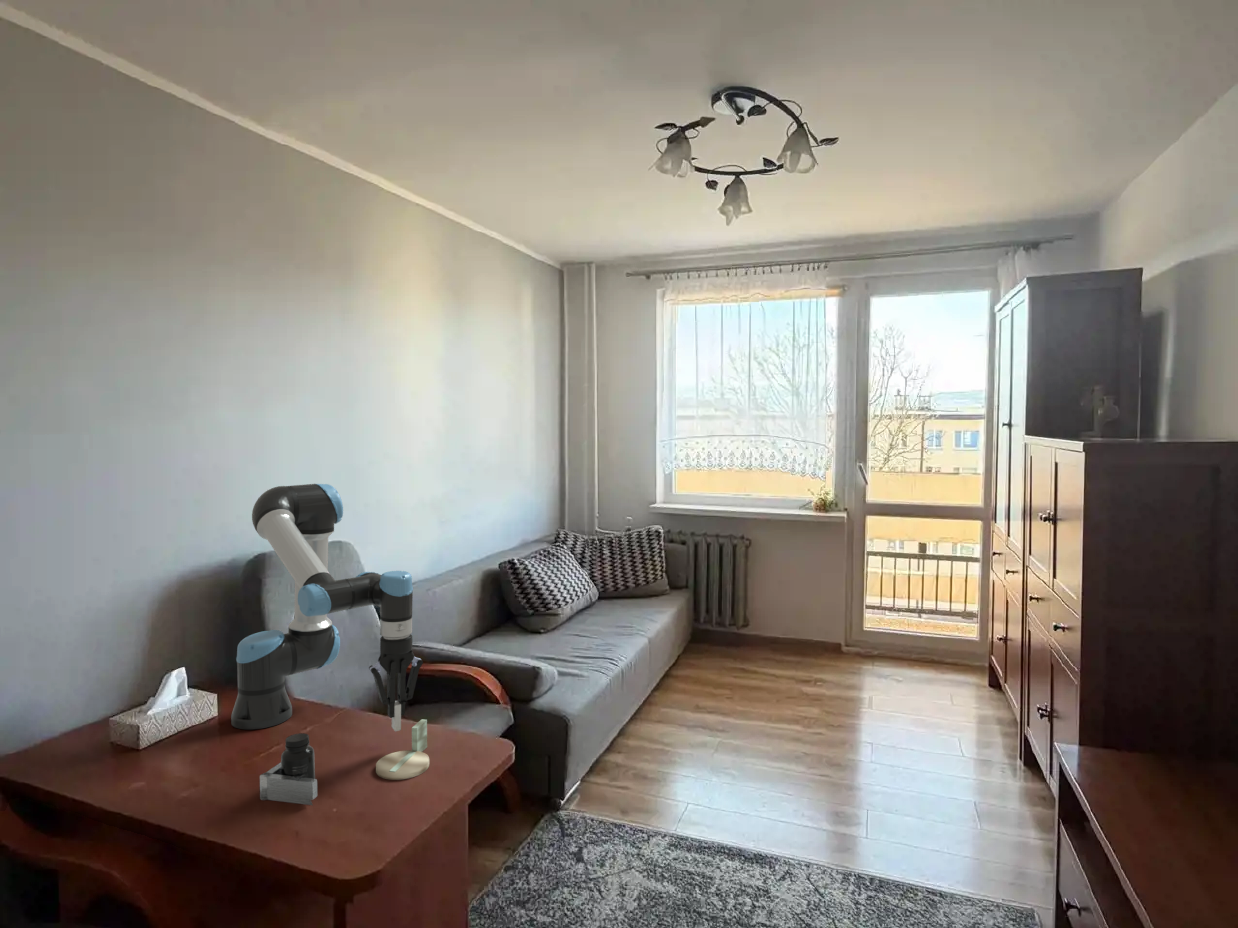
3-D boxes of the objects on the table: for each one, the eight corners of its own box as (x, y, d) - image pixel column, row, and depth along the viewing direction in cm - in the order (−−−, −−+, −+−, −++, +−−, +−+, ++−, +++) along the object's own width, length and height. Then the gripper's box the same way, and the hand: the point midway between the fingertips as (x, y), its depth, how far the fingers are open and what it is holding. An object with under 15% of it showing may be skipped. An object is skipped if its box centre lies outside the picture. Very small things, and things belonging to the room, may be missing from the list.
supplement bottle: (320, 782, 165) (319, 731, 164) (306, 797, 158) (305, 744, 157) (290, 781, 165) (289, 730, 164) (275, 797, 158) (274, 743, 157)
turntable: (402, 744, 181) (402, 717, 181) (446, 748, 179) (446, 721, 179) (365, 776, 165) (365, 746, 164) (414, 782, 162) (414, 751, 162)
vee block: (254, 781, 165) (254, 760, 165) (303, 769, 170) (302, 749, 170) (266, 817, 150) (265, 794, 149) (318, 803, 155) (318, 781, 155)
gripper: (373, 643, 170) (373, 740, 171) (427, 635, 177) (427, 728, 179) (365, 635, 176) (365, 728, 178) (417, 627, 183) (417, 717, 185)
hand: (396, 728), depth 178 cm, fingers closed
